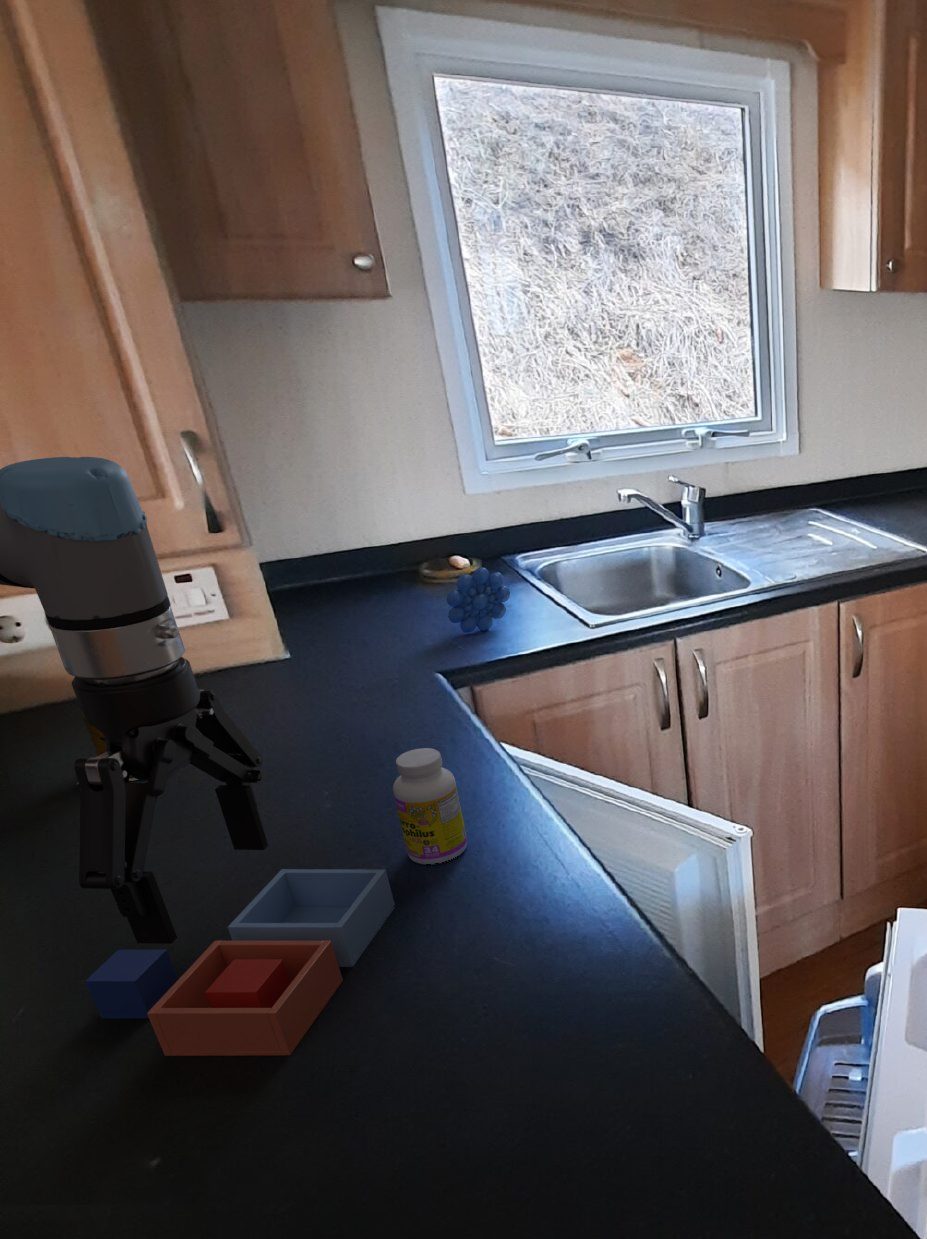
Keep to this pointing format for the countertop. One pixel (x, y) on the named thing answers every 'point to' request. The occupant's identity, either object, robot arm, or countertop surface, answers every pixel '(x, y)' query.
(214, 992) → the red block
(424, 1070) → the countertop surface
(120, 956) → the blue block
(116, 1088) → the countertop surface
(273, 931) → the blue bin
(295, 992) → the red bin
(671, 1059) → the countertop surface
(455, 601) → the blue sphere cluster
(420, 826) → the supplement bottle
